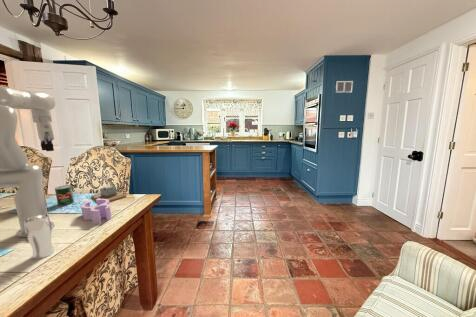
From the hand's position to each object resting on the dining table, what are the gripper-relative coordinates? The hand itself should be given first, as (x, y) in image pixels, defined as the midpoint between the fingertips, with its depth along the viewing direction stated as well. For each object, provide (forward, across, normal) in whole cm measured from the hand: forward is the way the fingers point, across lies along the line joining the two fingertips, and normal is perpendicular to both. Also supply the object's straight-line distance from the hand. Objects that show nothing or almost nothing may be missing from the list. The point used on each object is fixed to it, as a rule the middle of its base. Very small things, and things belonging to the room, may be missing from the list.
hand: (47, 150), depth 114 cm
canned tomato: (+35, +6, -5) cm, 36 cm away
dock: (+35, -6, -25) cm, 43 cm away
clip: (+36, -32, -10) cm, 49 cm away
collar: (+33, -6, -25) cm, 42 cm away
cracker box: (+35, +16, +6) cm, 39 cm away
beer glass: (+36, -51, +15) cm, 64 cm away
